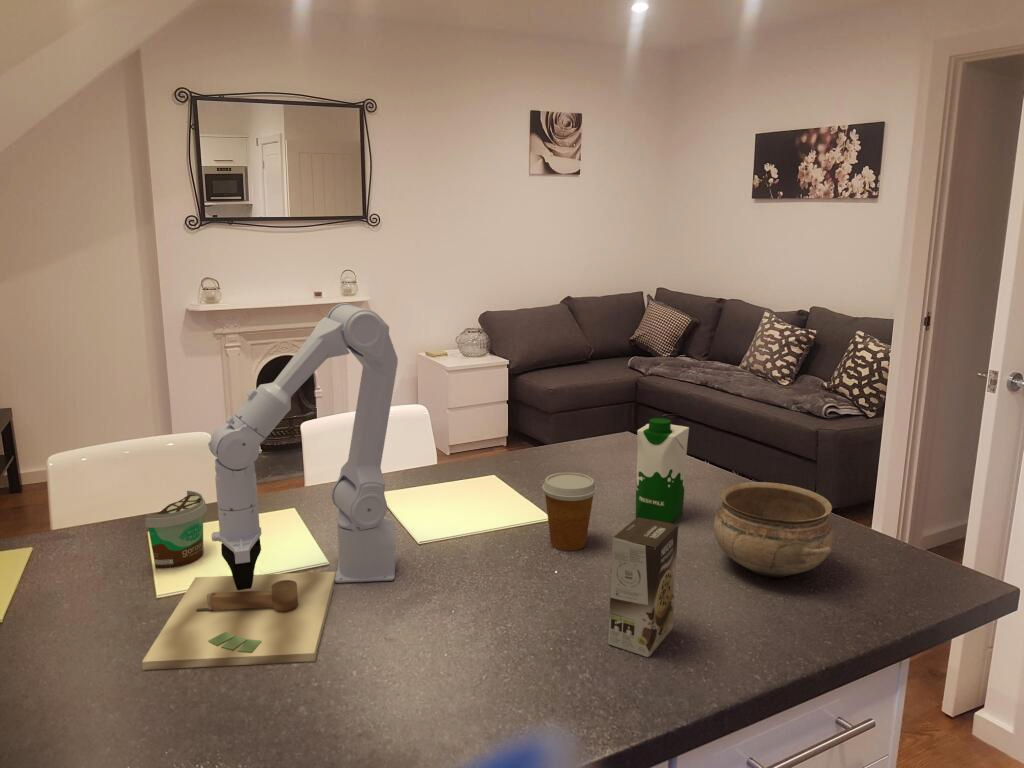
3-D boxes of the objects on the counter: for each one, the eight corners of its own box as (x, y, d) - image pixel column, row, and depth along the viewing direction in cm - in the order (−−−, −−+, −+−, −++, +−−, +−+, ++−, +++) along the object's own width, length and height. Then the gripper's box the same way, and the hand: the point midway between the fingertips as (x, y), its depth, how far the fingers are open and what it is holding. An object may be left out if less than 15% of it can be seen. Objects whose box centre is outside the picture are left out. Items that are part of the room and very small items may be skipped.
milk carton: (629, 519, 153) (633, 419, 149) (647, 504, 161) (652, 409, 156) (672, 529, 149) (677, 426, 144) (689, 513, 156) (694, 416, 152)
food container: (183, 576, 129) (178, 518, 127) (150, 572, 130) (144, 515, 128) (224, 544, 141) (220, 492, 139) (193, 541, 142) (189, 489, 140)
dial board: (335, 578, 128) (335, 570, 128) (314, 661, 105) (314, 651, 105) (196, 584, 126) (195, 576, 126) (142, 670, 103) (141, 660, 103)
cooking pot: (680, 547, 141) (683, 482, 138) (767, 532, 147) (772, 470, 144) (771, 613, 118) (777, 537, 115) (870, 593, 124) (878, 520, 122)
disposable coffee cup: (534, 549, 139) (534, 485, 137) (551, 529, 148) (552, 468, 145) (585, 558, 136) (587, 493, 133) (600, 537, 144) (602, 475, 142)
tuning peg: (299, 599, 119) (298, 579, 118) (295, 611, 115) (294, 591, 114) (211, 602, 117) (209, 583, 117) (204, 615, 114) (202, 594, 113)
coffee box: (650, 659, 106) (655, 547, 102) (606, 645, 109) (610, 536, 106) (674, 629, 113) (680, 524, 110) (633, 616, 117) (637, 514, 113)
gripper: (209, 491, 123) (215, 571, 126) (209, 525, 110) (216, 614, 113) (256, 485, 125) (261, 564, 128) (262, 518, 112) (268, 606, 115)
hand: (244, 587), depth 121 cm, fingers closed
